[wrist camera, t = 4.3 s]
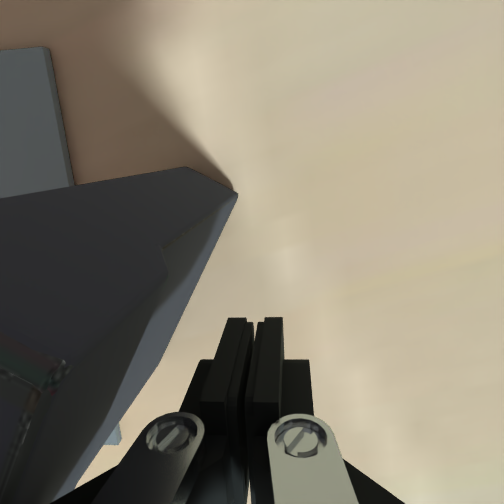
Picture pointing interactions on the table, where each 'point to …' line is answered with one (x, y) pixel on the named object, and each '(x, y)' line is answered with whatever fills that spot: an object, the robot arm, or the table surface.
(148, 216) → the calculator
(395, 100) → the table surface
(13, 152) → the mat
